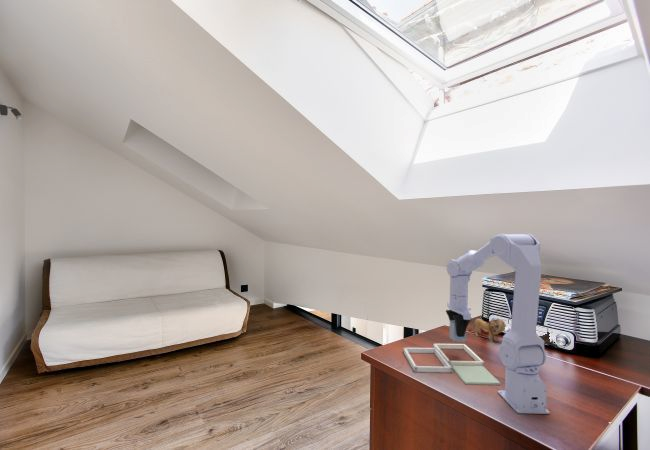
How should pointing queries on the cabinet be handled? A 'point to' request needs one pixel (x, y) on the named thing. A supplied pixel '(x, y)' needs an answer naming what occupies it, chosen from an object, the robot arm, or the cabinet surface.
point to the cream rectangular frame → (459, 363)
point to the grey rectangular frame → (427, 368)
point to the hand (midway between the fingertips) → (457, 333)
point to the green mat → (475, 375)
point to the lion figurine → (489, 327)
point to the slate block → (453, 333)
